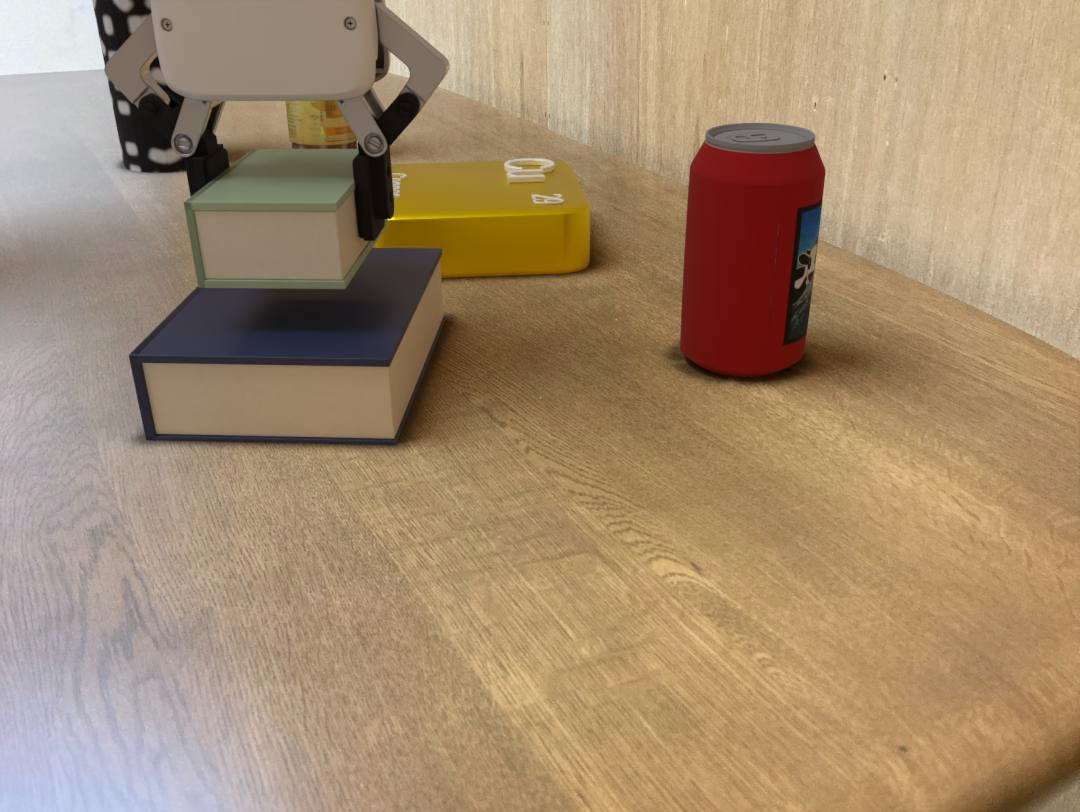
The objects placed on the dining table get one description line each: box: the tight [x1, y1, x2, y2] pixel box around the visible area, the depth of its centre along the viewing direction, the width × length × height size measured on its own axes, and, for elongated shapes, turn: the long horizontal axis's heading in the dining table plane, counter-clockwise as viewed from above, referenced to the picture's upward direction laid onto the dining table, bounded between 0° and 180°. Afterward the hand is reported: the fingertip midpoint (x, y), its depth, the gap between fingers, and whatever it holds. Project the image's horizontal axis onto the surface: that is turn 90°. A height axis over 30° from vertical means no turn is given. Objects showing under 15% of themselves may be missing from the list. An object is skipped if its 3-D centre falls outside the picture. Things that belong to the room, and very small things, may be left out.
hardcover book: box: [183, 148, 388, 289], centre depth 57 cm, size 11×7×4 cm, turn 176°
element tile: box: [373, 157, 591, 279], centre depth 80 cm, size 15×15×5 cm
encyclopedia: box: [128, 248, 447, 446], centre depth 60 cm, size 12×17×4 cm
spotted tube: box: [91, 0, 186, 174], centre depth 100 cm, size 8×8×20 cm
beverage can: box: [679, 122, 827, 378], centre depth 59 cm, size 7×7×12 cm
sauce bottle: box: [284, 100, 358, 149], centre depth 100 cm, size 6×6×20 cm
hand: (297, 230), depth 57 cm, fingers closed on hardcover book, 7 cm apart
